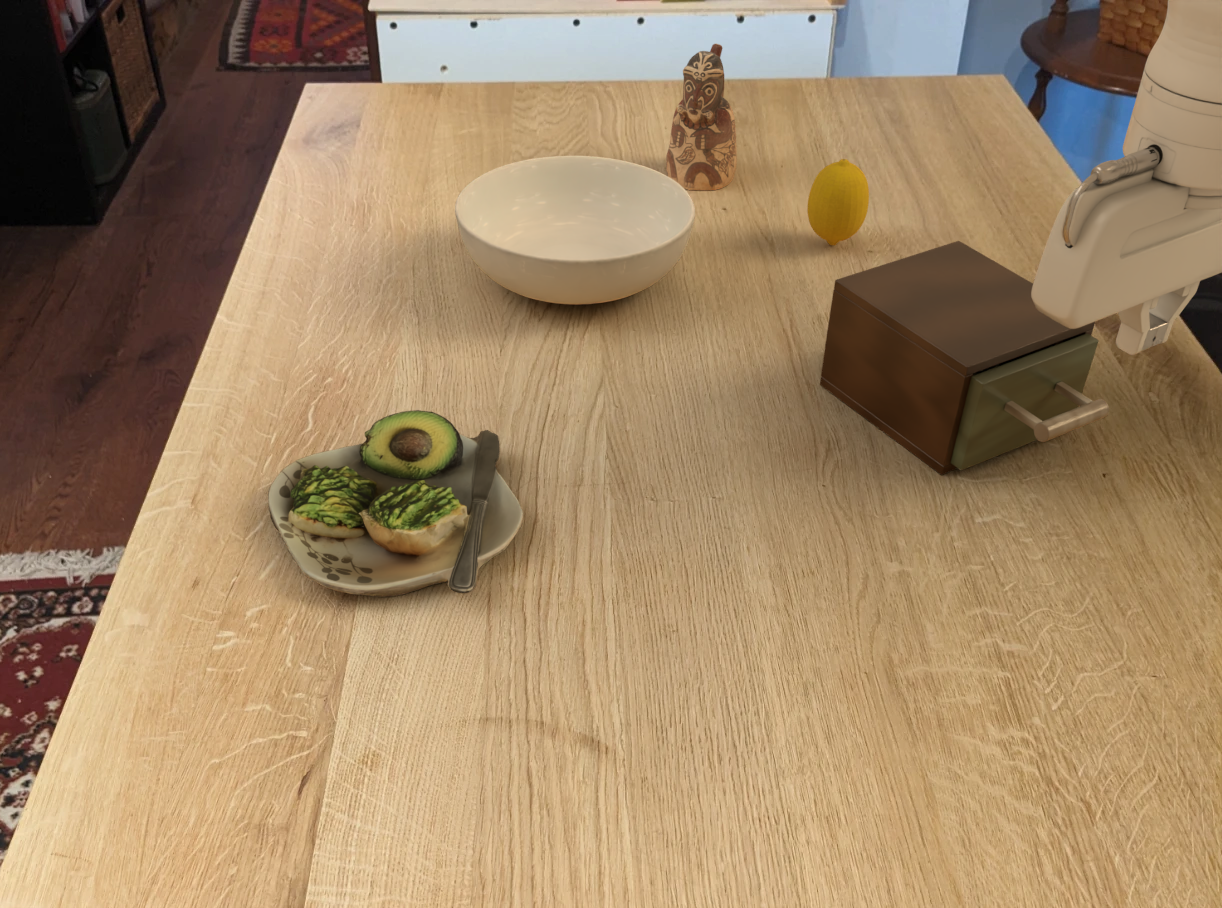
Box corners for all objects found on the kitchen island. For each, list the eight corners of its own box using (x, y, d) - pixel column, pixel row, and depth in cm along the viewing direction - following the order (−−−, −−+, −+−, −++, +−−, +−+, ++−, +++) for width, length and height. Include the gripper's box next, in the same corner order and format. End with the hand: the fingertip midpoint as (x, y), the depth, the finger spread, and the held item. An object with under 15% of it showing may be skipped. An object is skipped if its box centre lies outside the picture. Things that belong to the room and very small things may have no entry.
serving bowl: (652, 353, 107) (655, 276, 102) (423, 312, 111) (415, 236, 106) (717, 244, 120) (722, 171, 115) (510, 212, 125) (507, 140, 120)
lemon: (845, 227, 123) (858, 143, 117) (871, 253, 119) (886, 168, 114) (793, 236, 122) (803, 151, 116) (817, 262, 118) (829, 176, 112)
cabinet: (1063, 426, 100) (1096, 319, 93) (941, 475, 95) (967, 366, 88) (936, 343, 108) (958, 240, 102) (819, 384, 104) (834, 279, 97)
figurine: (652, 179, 130) (656, 53, 122) (689, 155, 134) (695, 32, 126) (712, 196, 128) (721, 69, 119) (747, 172, 132) (758, 47, 123)
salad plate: (580, 580, 87) (580, 525, 83) (323, 651, 82) (312, 596, 78) (483, 431, 99) (479, 378, 95) (255, 485, 94) (242, 432, 91)
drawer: (1116, 455, 95) (1147, 368, 90) (1004, 502, 91) (1029, 414, 86) (951, 347, 106) (970, 264, 101) (844, 386, 102) (858, 301, 97)
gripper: (1123, 193, 68) (1059, 416, 78) (1369, 108, 75) (1282, 323, 85) (1037, 152, 72) (987, 370, 82) (1280, 75, 79) (1206, 284, 89)
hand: (1139, 345), depth 84 cm, fingers closed
